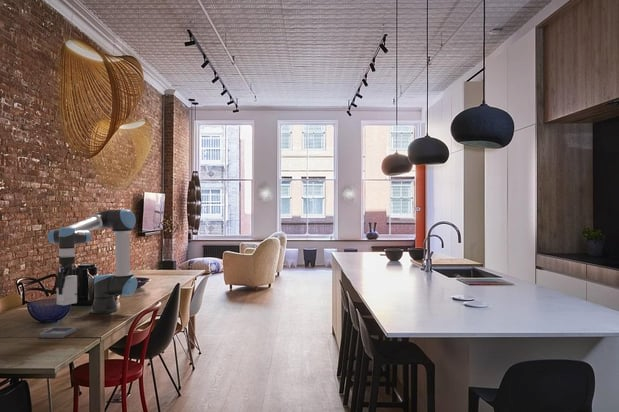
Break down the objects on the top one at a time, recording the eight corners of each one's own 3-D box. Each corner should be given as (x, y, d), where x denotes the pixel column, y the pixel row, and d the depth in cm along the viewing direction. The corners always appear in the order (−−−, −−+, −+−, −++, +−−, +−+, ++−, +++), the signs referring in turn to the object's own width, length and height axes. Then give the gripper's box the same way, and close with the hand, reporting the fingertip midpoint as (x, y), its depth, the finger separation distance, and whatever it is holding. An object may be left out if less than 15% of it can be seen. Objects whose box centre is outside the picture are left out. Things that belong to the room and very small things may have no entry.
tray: (53, 331, 255) (53, 327, 255) (76, 331, 254) (76, 327, 254) (39, 337, 242) (39, 333, 242) (63, 337, 242) (63, 333, 242)
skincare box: (63, 305, 245) (63, 277, 245) (55, 304, 248) (55, 276, 248) (77, 302, 253) (77, 275, 253) (70, 301, 256) (70, 274, 256)
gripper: (71, 254, 262) (71, 294, 262) (47, 258, 239) (47, 302, 239) (84, 254, 262) (84, 294, 261) (62, 258, 239) (62, 302, 239)
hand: (66, 298), depth 250 cm, fingers closed on skincare box, 10 cm apart
